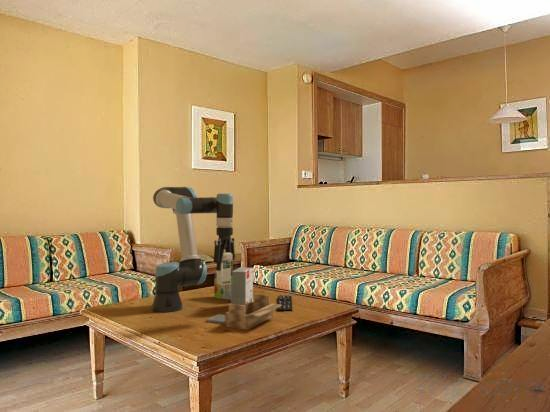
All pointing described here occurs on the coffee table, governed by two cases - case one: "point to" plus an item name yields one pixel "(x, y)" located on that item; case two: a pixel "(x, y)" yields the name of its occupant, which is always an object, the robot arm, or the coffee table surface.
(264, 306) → the light wood open box
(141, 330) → the coffee table surface
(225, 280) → the syrup box
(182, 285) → the robot arm
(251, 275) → the hard drive box
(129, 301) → the coffee table surface
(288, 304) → the remote control
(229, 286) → the snack box
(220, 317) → the plate
